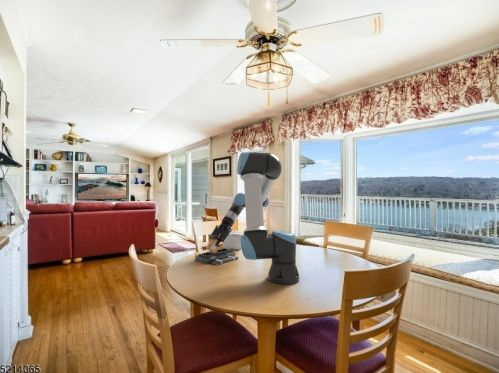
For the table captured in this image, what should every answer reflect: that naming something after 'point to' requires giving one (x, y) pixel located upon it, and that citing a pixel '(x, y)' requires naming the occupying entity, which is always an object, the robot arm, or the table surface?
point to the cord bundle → (224, 260)
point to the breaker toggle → (212, 240)
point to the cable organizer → (233, 240)
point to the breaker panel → (214, 256)
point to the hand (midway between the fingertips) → (209, 249)
